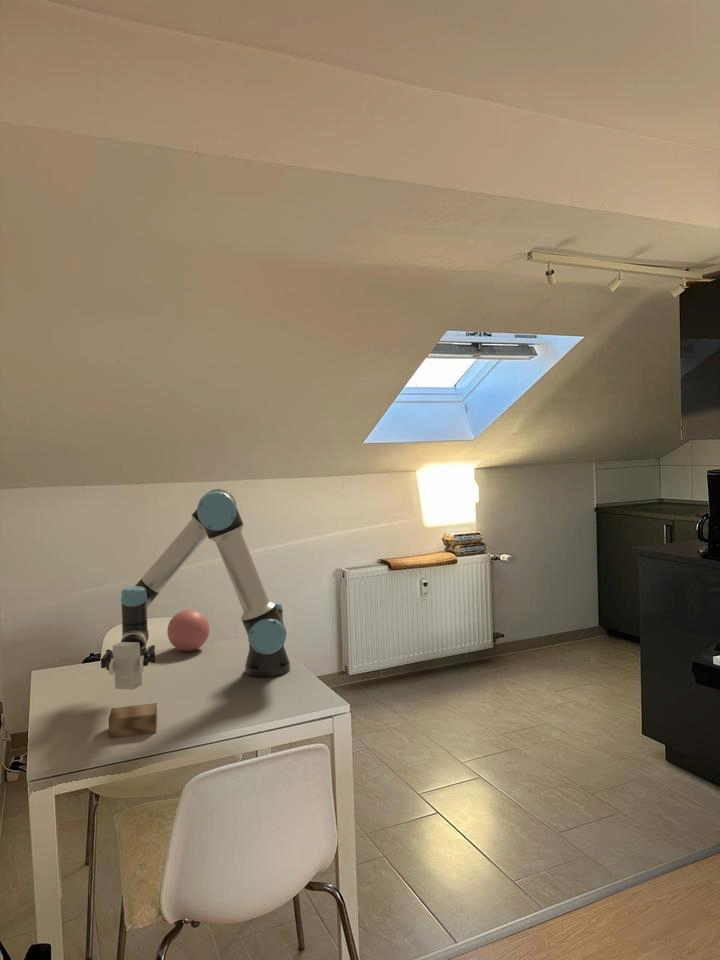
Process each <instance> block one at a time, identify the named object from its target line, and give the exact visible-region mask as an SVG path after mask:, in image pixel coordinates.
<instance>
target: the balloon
mask: <svg viewBox="0 0 720 960" xmlns="http://www.w3.org/2000/svg"><path fill="white" fill-rule="evenodd" d="M166 630H167V632H166V633H167V638H168V640H169V642H170V644H171V645H172V646H173V647H174V648H175V649H177V650H179V651H182V652H193V651H195V650H198V649H199V648H201V647H202V646H203V645H204V644H205V643H206V642H207V640H208V638H209V634H210V625H209V621H208V619H207V618H206V617H205V615H204V614H202V613H201V612H199V611H198V610H194V609H185V610H181V611H179V612H177V613H176V614H175V615H173V616H172V618H170V620H169V622H168V626H167V629H166Z"/></svg>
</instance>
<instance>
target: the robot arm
mask: <svg viewBox="0 0 720 960" xmlns="http://www.w3.org/2000/svg"><path fill="white" fill-rule="evenodd" d="M197 504H198V505H197V507H196V509H195V510H194V512H193V513H192V514H191V520H190V521H189V522H188V523H187V525H186V526H185V527H184V528H183V529H182V530H181V532H180V533H179V534H178V535H177V536H176V538H174V540H173V541H172V542H170V545H168V547H167V548H166V549H165V550H164V551H163V552H162V554H161V555H160V556H159V557H158V559H156V561H155V562H154V563H153V564H152V566H150V568H149V569H148V570H147V571H146V572H145V573H144V575H143V576H142V577H141V578H140V580H139V581H137V583H136V584H135V585H134V586H133V585H132V586H128V587H125V588H122V590H121V591H120V592H121V598H120V604H121V632H122V634H121V635H122V636H121V639H120V642H139V643H140V661H139V668H140V672H142V673H144V672H143V671H144V667H148V666H149V663H151V664H155V663H156V645H154V644H153V645H152V644H151V645H150V646H147V644H148V643H147V642H148V640H149V637H150V636H149V629H148V608H149V606H150V605H151V604H152V602H153V601H154V600H155V599H156V597H158V596H159V594H160V593H161V592H162V590H163V589H164V588H165V587H166V586H167V585H168V583H170V581H171V579H172V578H173V577H175V575H176V574H177V573H178V572H179V570H180V569H181V568H182V567H183V566H184V565H185V564H186V563H187V561H188V560H189V559H190V558H191V556H192V555H193V554H194V553H195V552H196V551H197V549H198V548H199V547H200V546H201V545H202V544H203V543H204V541H206V540H207V538H208V540H210V541H212V542H214V543H215V545H216V547H217V549H218V552H219V554H220V556H221V559H222V562H223V565H224V567H225V569H226V572H227V574H228V576H229V579H230V582H231V585H232V587H233V588H234V591H235V594H236V596H237V599H238V601H239V604H240V606H241V608H242V611H243V612H242V615H241V617H240V619H241V622H242V625H243V627H244V629H245V633H246V635H247V638H248V639H247V640H248V645H249V648H248V649H249V650H248V654H247V657H246V661H245V665H244V673H245V674H246V676H249V677H255V678H271V677H278V676H280V675H285V674H287V673H288V672H290V671H291V661H290V660H289V656H288V654H287V651H286V648H285V642H286V639H287V630H286V627H285V623H284V616H283V615H284V614H283V612H284V610H283V605H282V603H280V602H274V601H273V602H272V601H270V600H269V598H268V596H267V593H266V591H265V588H264V585H263V583H262V581H261V580H262V579H261V578H260V576H259V573H258V570H257V568H256V565H255V563H254V561H253V558H252V555H251V553H250V551H249V550H250V549H249V548H248V545H247V543H246V540H245V538H244V535H243V533H242V530H243V528H244V526H245V525H244V522H243V520H242V518H241V515H240V512H239V510H238V507H237V502H236V500H235V498H234V496H233V495H232V493H230V492H229V491H227V490H225V489H219V488H217V489H212V490H210V491H208V492H206V493H205V494H204V495H203V496H202V497H201V498H200V500H199V501H198V503H197ZM100 668H101V669H106V670H107V671H108V673H109V676H113V675H114V659H113V649H112V650H111V649H106V650H105V654H104V655H102V657H101V658H100Z"/></svg>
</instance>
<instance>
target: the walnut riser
mask: <svg viewBox="0 0 720 960" xmlns="http://www.w3.org/2000/svg"><path fill="white" fill-rule="evenodd" d="M157 704H158V703H157V702H155V703H154V702H153V703H147V704H145V703H144V704H137V705H128V706H120V707H119V706H118V707H112V708H111V709H110V712H109V716H108V737H109V739H116V738H115V737H117V738H123V737H122V736H125V737H132V736H131V735H133V736H137V735H136V734H141V735H147V733H149V734H153V732H156V733H157V731H158V730H157V727H158V707H157V706H158V705H157ZM156 730H157V731H156Z"/></svg>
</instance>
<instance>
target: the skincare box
mask: <svg viewBox="0 0 720 960" xmlns="http://www.w3.org/2000/svg"><path fill="white" fill-rule="evenodd" d="M112 650H113V659H114V672H113V675H114V688H115V689H116V690H129V691H130V690H132V691H133V690H136V689H137V688H140V687H141V686H142V685H143V674H142V673H143V672H140V668H139V661H140V643H139V642H121V641H120V642H119V643H116V644H114V645H112Z"/></svg>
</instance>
